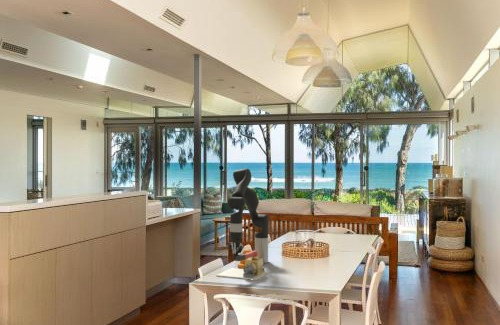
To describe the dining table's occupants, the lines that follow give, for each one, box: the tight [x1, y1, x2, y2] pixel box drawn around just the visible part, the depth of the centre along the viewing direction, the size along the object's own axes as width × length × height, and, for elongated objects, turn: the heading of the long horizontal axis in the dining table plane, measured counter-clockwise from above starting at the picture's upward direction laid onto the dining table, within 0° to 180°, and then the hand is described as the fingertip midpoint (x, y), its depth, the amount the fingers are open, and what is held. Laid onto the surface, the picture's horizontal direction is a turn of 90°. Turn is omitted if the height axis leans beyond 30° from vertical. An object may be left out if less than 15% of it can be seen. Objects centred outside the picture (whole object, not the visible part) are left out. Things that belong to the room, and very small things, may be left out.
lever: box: [234, 250, 258, 262], centre depth 303 cm, size 22×4×3 cm, turn 151°
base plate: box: [216, 267, 270, 281], centre depth 312 cm, size 22×26×1 cm
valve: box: [243, 256, 265, 278], centre depth 310 cm, size 22×8×11 cm, turn 158°
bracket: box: [237, 248, 252, 269], centre depth 331 cm, size 11×7×12 cm, turn 72°
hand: (235, 259), depth 299 cm, fingers closed
